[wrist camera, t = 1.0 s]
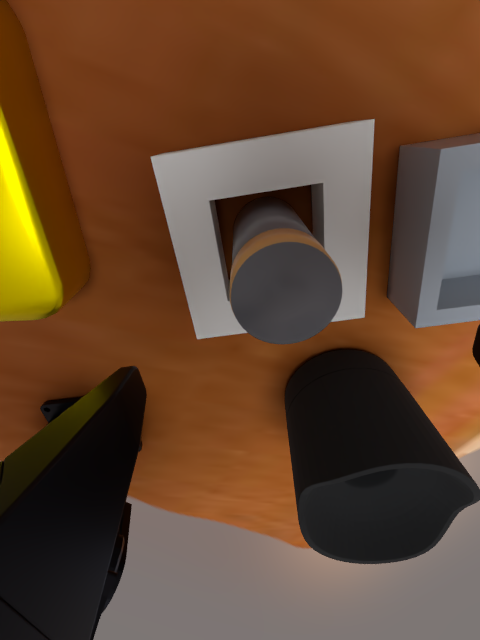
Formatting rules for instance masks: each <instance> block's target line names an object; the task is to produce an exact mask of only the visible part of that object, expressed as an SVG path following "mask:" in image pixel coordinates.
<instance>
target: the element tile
mask: <svg viewBox="0 0 480 640" xmlns="http://www.w3.org/2000/svg"><path fill="white" fill-rule="evenodd" d="M90 269H91V268H90V259H89V256H88V252H87V249H86V245H85V242H84V238H83V235H82V231H81V228H80V224H79V221H78V217H77V214H76V210H75V207H74V203H73V200H72V196H71V193H70V189H69V186H68V182H67V179H66V175H65V172H64V168H63V165H62V161H61V158H60V154H59V151H58V147H57V144H56V140H55V137H54V133H53V130H52V126H51V123H50V119H49V116H48V112H47V109H46V105H45V102H44V98H43V95H42V91H41V88H40V84H39V81H38V77H37V74H36V70H35V67H34V63H33V60H32V56H31V53H30V49H29V46H28V42H27V39H26V35H25V32H24V30H23V28H22V26H21V24H20V22H19V20H18V18H17V17H16V15H15V13H14V12H13V10H12V9H11V7H10V5H9V4H8V2H7V1H6V0H0V321H21V320H38V319H43V318H47V317H49V316H51V315H53V314H55V313H57V312H58V311H59V310H60V309H61V308H62V307H63V306H64V305H65V304H66V303H67V302H68V301H69V300H70V299H71V298H72V297H73V296H74V295H75V294H76V293H77V292H78V291H79V290H80V289H81V288H82V287H83V286H84V285H85V284H86V282H87V281H88V280H89V275H90Z"/></svg>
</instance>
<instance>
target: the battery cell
mask: <svg viewBox="0 0 480 640" xmlns="http://www.w3.org/2000/svg"><path fill="white" fill-rule="evenodd" d="M341 299H342V280H341V275H340V272H339V270H338V268H337V266H336V264H335V262H334V261H333V260H332V258H331V257H330V256H329V254H328V253H327V252H326V250H325V249H324V248H323V246H322V245H321V244H320V243H319V242H318V241H317V240H316V239H315V238H314V236H313V235H312V234H311V232H310V231H309V230H308V228H307V227H306V226H305V224H304V223H303V222H302V220H301V219H300V218H299V216H298V215H297V213H296V212H295V211H294V209H293V208H292V207H291V206H290V205H289V204H288V203H286V202H285V201H283V200H281V199H278V198H274V197H262V198H258V199H255V200H253V201H251V202H249V203H248V204H246V205H245V206H244V207H243V208H242V209H241V211H240V212H239V214H238V215H237V217H236V219H235V223H234V227H233V252H232V268H231V274H230V304H231V308H232V311H233V313H234V316H235V317H236V319H237V321H238V323H239V324H240V325H241V326H242V328H243V329H244V330H246V331H247V332H248V333H249V334H251V335H252V336H254V337H255V338H257V339H259V340H262V341H265V342H268V343H274V344H291V343H297V342H300V341H304V340H306V339H308V338H311V337H312V336H314V335H316V334H317V333H319V332H320V331H322V330H323V329H324V328H325V327H326V326H327V325H328V324H329V323H330V322H331V321H332V319H333V318H334V316H335V315H336V313H337V311H338V309H339V306H340V303H341Z"/></svg>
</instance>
